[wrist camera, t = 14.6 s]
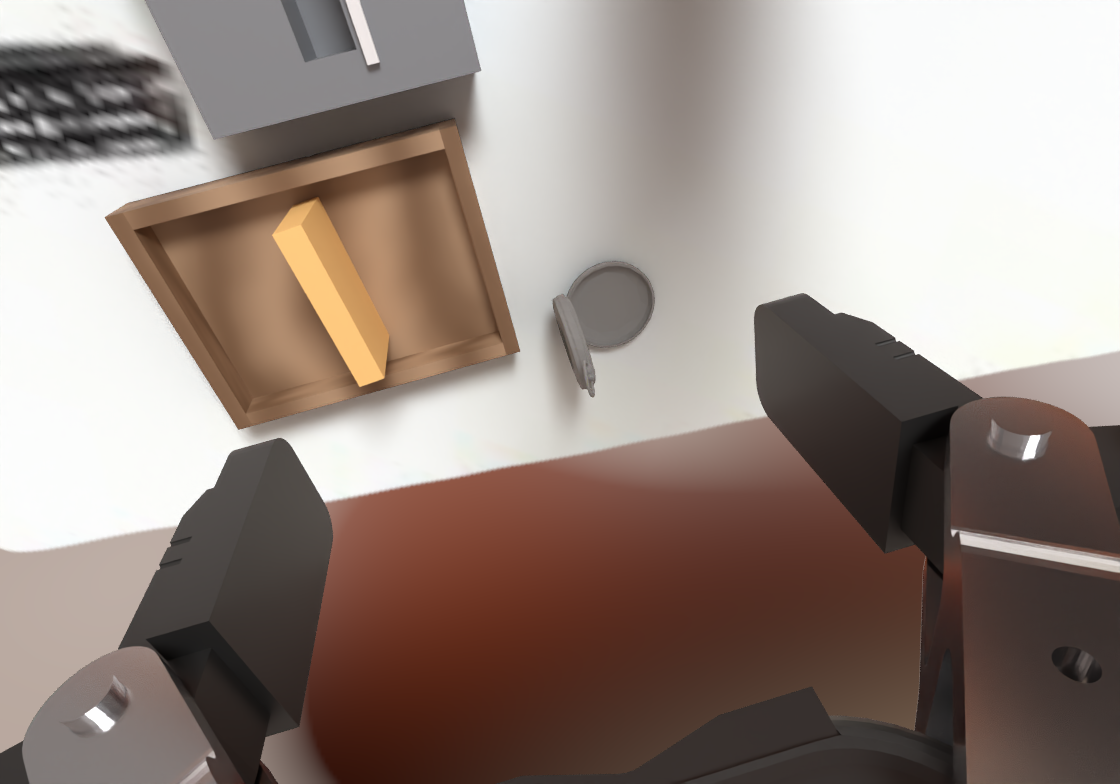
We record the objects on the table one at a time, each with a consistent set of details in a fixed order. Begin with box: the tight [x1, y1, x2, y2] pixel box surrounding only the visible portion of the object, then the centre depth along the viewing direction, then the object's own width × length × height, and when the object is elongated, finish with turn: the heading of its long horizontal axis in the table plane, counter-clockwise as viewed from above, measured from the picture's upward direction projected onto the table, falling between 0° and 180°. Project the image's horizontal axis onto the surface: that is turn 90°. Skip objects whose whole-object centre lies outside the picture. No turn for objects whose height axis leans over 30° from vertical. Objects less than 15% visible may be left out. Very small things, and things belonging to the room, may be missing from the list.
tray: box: [105, 118, 520, 430], centre depth 39 cm, size 20×15×3 cm
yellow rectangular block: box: [272, 197, 389, 387], centre depth 37 cm, size 2×6×10 cm
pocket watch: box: [553, 261, 655, 397], centre depth 41 cm, size 8×8×10 cm
